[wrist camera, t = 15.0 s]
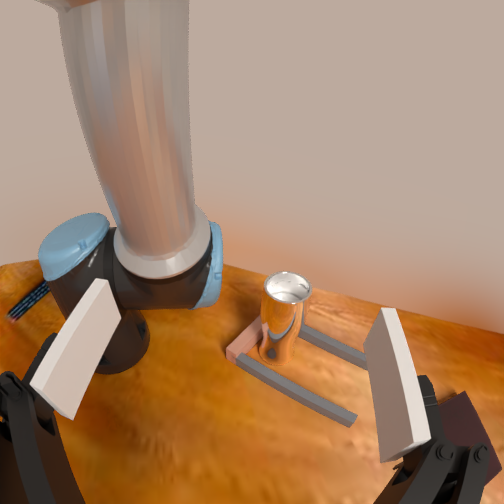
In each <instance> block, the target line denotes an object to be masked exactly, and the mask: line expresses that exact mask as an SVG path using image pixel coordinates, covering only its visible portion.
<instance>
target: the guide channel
mask: <svg viewBox="0 0 504 504" xmlns="http://www.w3.org/2000/svg"><path fill="white" fill-rule="evenodd" d="M262 337H263V332H262V326H261V319H260V315H259V316H258V317H257V318H256V319H255V320H254V321H253V322H252V323H251V324H250V325H249V326H248V327H247V328H246V329H245V330H244V331H243V332H242V333H241V334H240V335H239V336H238V337H237V338H236V339H235V340H234V341H233V342H232V343H231V344H230V345H229V346H228V347H227V348H226V359H228V360H229V361H231V362H232V363H234V364H236V365H237V366H239V367H240V368H242V369H243V370H245V371H247V372H248V373H250V374H251V375H253V376H255V377H256V378H258V379H260V380H261V381H263V382H265V383H266V384H268V385H270V386H271V387H273V388H275V389H276V390H278V391H280V392H282V393H283V394H285V395H287V396H289V397H290V398H292V399H294V400H296V401H298V402H300V403H301V404H303V405H305V406H307V407H309V408H311V409H313V410H315V411H316V412H318V413H320V414H322V415H324V416H326V417H328V418H330V419H332V420H334V421H336V422H338V423H340V424H343V425H345V426H347V427H350V426H351V425H352V424H353V423H354V422H355V420H356V418H357V416H358V415H356V414H354V413H352V412H350V411H348V410H346V409H344V408H342V407H340V406H338V405H336V404H334V403H332V402H330V401H328V400H326V399H324V398H322V397H320V396H318V395H316V394H314V393H312V392H310V391H308V390H306V389H304V388H303V387H301V386H299V385H297V384H295V383H293V382H292V381H290V380H288V379H286V378H284V377H283V376H281V375H279V374H277V373H276V372H274V371H272V370H270V369H269V368H267V367H265V366H264V365H262V364H260V363H259V362H257V361H255V360H254V359H252V358H250V357H249V356H247V355H246V354H247V353H248V352H249V350H250V349H251V348H252V347H253V346H254V345H255V344H256V343H257V342H258V341H259V340H260V339H261V338H262ZM298 337H300V338H302V339H304V340H306V341H308V342H310V343H312V344H314V345H316V346H318V347H320V348H322V349H324V350H326V351H328V352H330V353H332V354H334V355H336V356H338V357H340V358H342V359H344V360H346V361H348V362H350V363H352V364H355V365H357V366H359V367H361V368H363V369H365V370H367V371H368V367H367V361H366V356H365V354H364V353H362V352H360V351H358V350H356V349H354V348H352V347H349V346H347V345H345V344H343V343H341V342H339V341H337V340H335V339H333V338H331V337H329V336H327V335H325V334H323V333H321V332H319V331H317V330H315V329H313V328H310V327H308V326H306V325H305V324H304V326H303V328H302V330H301V332H300V333H299V335H298Z"/></svg>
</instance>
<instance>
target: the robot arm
mask: <svg viewBox="0 0 504 504" xmlns="http://www.w3.org/2000/svg"><path fill="white" fill-rule="evenodd" d="M36 1H38V2H41V3H43V4H45V5H48V6H50V7H52V8H54V9H55V10H56V11H57V12H58V17H59V25H60V33H61V39H62V46H63V51H64V57H65V62H66V67H67V72H68V77H69V81H70V86H71V90H72V94H73V98H74V102H75V106H76V110H77V113H78V117H79V120H80V124H81V128H82V131H83V134H84V138H85V141H86V144H87V147H88V150H89V153H90V156H91V159H92V162H93V165H94V168H95V171H96V173H97V176H98V179H99V182H100V184H101V187H102V190H103V192H104V195H105V197H106V200H107V203H108V205H109V207H110V210H111V212H112V215H113V217H114V219H115V222H116V224H117V227H109V225H110V223H109V221H108V220H107V218H106V217H105V216H104V215H102V214H99V213H88V214H83V215H80V216H77V217H74V218H72V219H70V220H68V221H66V222H64V223H63V224H61V225H60V226H58V227H56V228H55V229H54V230H53V231H52V232H51V233H49V234H48V235H47V237H46V238H45V239H44V240H43V242H42V244H41V246H40V248H39V253H38V257H39V262H40V265H41V268H42V271H43V276H44V278H45V280H46V282H47V284H48V286H49V288H50V290H51V292H52V294H53V296H54V298H55V300H56V302H57V304H58V306H59V308H60V310H61V312H62V314H63V315H64V317H65V319H66V322H65V324H64V325H63V327H62V329H61V330H60V332H59V333H58V334H57V333H52V334H51V335H50V336H49V337H48V338H47V339H46V340H45V342H44V343H43V345H42V347H41V349H40V350H39V351H38V353H37V356H36V357H35V358H34V360H33V362H32V363H31V365H30V367H29V369H28V371H27V372H26V374H25V376H24V378H23V379H22V381H20V380H19V379H18V377H17V376H16V375H15V374H14V373H13V372H11V371H5V372H4V373H2V374H1V375H0V416H1V417H3V420H2V422H1V421H0V504H85V501H84V499H83V497H82V495H81V492H80V490H79V488H78V485H77V483H76V480H75V478H74V475H73V473H72V470H71V467H70V465H69V462H68V459H67V456H66V453H65V450H64V447H63V443H62V440H61V437H60V433H59V429H58V426H57V422H56V418H55V415H54V413H53V411H54V409H55V410H56V411H57V412H58V413H59V414H61V415H63V416H65V417H67V418H69V419H71V420H73V419H74V417H75V414H76V412H77V409H78V407H79V405H80V402H81V400H82V398H83V395H84V393H85V391H86V389H87V387H88V384H89V382H90V380H91V378H92V376H93V374H94V372H96V373H99V374H115V373H119V372H122V371H125V370H127V369H129V368H131V367H132V366H134V365H135V364H136V363H137V362H138V361H139V360H140V359H141V358H142V357H143V355H144V354H145V352H146V350H147V348H148V345H149V341H150V334H149V329H148V326H147V323H146V321H145V319H144V317H143V315H142V314H141V313H140V312H139V310H153V309H189V310H194V309H197V308H201V307H209V306H212V305H214V304H215V303H216V302H217V300H218V298H219V295H220V290H221V284H222V275H221V273H222V268H223V241H222V233H221V228H220V226H219V225H218V224H216V223H215V222H210V221H208V219H207V216H206V215H205V213H204V212H203V211H202V210H201V209H200V208H199V207H198V206H197V205H196V204H195V199H194V186H193V174H192V157H191V139H190V117H189V85H188V25H189V23H188V21H189V0H36ZM363 346H364V351H365V356H366V361H367V367H368V372H369V378H370V384H371V390H372V396H373V403H374V410H375V417H376V425H377V433H378V442H379V452H380V463H384V462H390V461H395V460H398V459H399V458H401V457H403V462H401V463H399V464H398V465H396V466H395V467H394V468H393V470H395V469H397V468H398V470H397V471H396V473H395V474H394V476H393V477H392V479H391V480H390V481H389V483H388V484H387V486H386V487H385V489H384V490H383V491H382V493H381V494H380V495H379V497H378V498H377V499H376V501H375V502H374V503H373V504H480V500H481V497H482V493H483V489H484V485H485V480H486V476H487V470H488V465H489V459H490V451H489V447H488V446H487V445H486V444H485V443H483V442H478V443H476V444H474V445H473V446H471V447H469V446H457V445H454V444H453V443H452V442H451V441H450V440H448V439H447V438H446V436H445V433H444V429H443V424H442V420H441V416H440V411H439V407H438V405H437V400H436V397H435V392H434V388H433V385H432V383H431V382H430V380H429V379H428V377H427V376H426V375H420V376H417V375H416V371H415V368H414V364H413V361H412V358H411V354H410V351H409V348H408V345H407V341H406V338H405V335H404V332H403V329H402V326H401V323H400V321H399V318H398V315H397V312H396V309H395V308H381V309H380V311H379V313H378V316H377V318H376V320H375V322H374V324H373V326H372V328H371V330H370V332H369V334H368V336H367V338H366V340H365V342H364V344H363Z"/></svg>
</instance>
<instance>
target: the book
mask: <svg viewBox="0 0 504 504" xmlns="http://www.w3.org/2000/svg"><path fill="white" fill-rule="evenodd" d="M438 407H439V411H440V416H441V420H442V424H443V429H444V433H445V436H446V438H447V439H448V440H450V441H451V442H452V443H453V444H454V445H457V446H469V447H471V446H473V445H474V444H476V443H478V442H483V443H485V444H486V445H487V446H488V447H489V451H490V459H489V465H488V470H487V476H486V480H485V485H486V484H487V483H489V482H490V481H491V480H492V479H493V478H494V477H495V476H496V475H497V474H498V473H499V472H500V471H501V470H502V467H501V464H500V462H499V460H498V457H497V455H496V453H495V450H494V448H493V446H492V444H491V441H490V439H489V437H488V435H487V433H486V431H485V429H484V427H483V425H482V423H481V420H480V418H479V416H478V414H477V412H476V410H475V408H474V406H473V405H472V403H471V401H470V399H469V397H468V395H467V394H466V392H465V391H463V392H462V393H460V394H458V395H456V396H455V397H453V398H451V399H449V400H447V401H446V402H444V403H442V404H440V405H438ZM485 485H484V486H485Z"/></svg>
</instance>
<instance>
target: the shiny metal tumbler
mask: <svg viewBox="0 0 504 504" xmlns="http://www.w3.org/2000/svg"><path fill="white" fill-rule="evenodd" d="M311 293H312V286H311V283H310V282H309V281H308V280H307V279H306V278H305V277H304V276H302V275H300V274H298V273H294V272H290V271H281V272H276V273H273V274H271V275H270V276H268V277H267V278H266V280H265V282H264V288H263V293H262V298H261V305H260V319H261V326H262V332H263V339H262V342H261V344H260V346H259V354H260V356H261V358H262V359H263V360H264V361H265V362H267V363H269V364H271V365H284V364H286V363H288V362H289V361H290V360H291V359H292V358H293V356H294V343H295V340H296V339H297V337H298V335H299V333H300V332H301V330H302V328H303V326H304V324H305V321H306V319H307V315H308V312H309V307H310V301H311Z"/></svg>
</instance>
